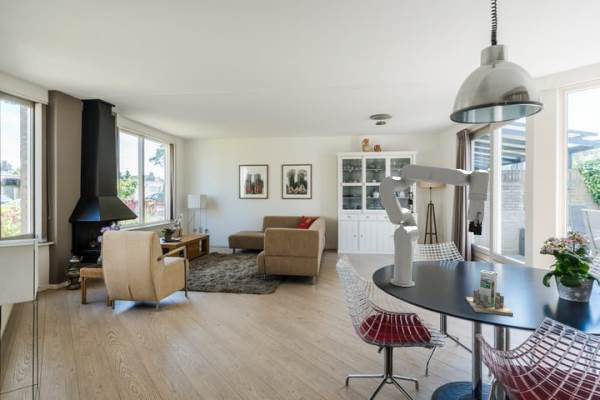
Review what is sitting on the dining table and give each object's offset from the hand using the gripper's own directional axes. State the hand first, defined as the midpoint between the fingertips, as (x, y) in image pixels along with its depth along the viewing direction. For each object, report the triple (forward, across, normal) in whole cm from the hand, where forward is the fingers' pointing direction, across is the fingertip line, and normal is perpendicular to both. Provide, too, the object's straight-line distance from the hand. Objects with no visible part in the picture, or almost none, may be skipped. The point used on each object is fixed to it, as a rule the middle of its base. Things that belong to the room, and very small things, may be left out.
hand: (474, 233), depth 142 cm
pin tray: (+31, +8, +6) cm, 33 cm away
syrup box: (+30, +8, +5) cm, 32 cm away
